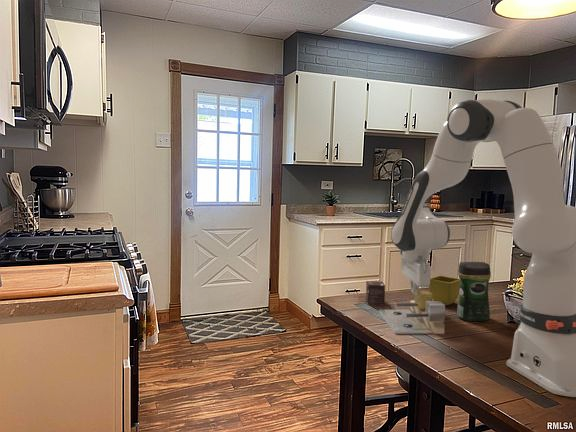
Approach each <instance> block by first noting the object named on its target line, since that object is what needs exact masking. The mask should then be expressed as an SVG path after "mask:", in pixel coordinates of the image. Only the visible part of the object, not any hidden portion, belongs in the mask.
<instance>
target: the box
mask: <svg viewBox="0 0 576 432" xmlns="http://www.w3.org/2000/svg"><path fill="white" fill-rule="evenodd" d="M365 283H366V285H365V286H366V287H365V289H366V291H365V301H366V303H367V305H369V306H370V305H371V306H372V305H373V306H374V305H377V306H380V305H382V306H384V305H385V302H386V301H385V300H386V299H385V297H386V296H385V295H386V285H385V283H384V282H383V281H382V280H379V281H377V280H375V281H374V280H370V281H369V280H366V282H365Z"/></svg>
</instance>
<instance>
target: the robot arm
mask: <svg viewBox="0 0 576 432" xmlns="http://www.w3.org/2000/svg"><path fill="white" fill-rule="evenodd" d="M481 142H482V143H490V142H496V143H497V144H498V146H499V149H500V151H501V156H502V159H503V162H504V165H505V168H506V172H507V175H508V179H509V182H510V184H511V185H510V186H511V190H512V195H513V206H514V208H513V209H514V211H513V212H514V221H513V222H512V226H511V236H512V239H513V242H514V243H515V244H516V246H517V247H518V248H520V250H523V251H524V252H526V253H528V254H532V255H531V257H530V261H529V264H528V266H527V268H526V270H525V272H524V274H523V275H524V276H523V289H522V290H523V293H522V295H523V296H522V304H521V305H520V310H519V320H520V321H521V322H520V323H519V326H518V327H517V329H516V330H515V332H514V335H513V342H512V349H511V356H510V358H508V359H507V360H506V363H505V364H506V366H507V367H508V368H510V369H512V370H513V371H515V372H516V373H518V374H520V375H521V376H523V377H525V378H527V380H530V381H531V382H532V383H535V384H537V385H538V386H539V387H541V388H543V389H544V390H546V391H547V392H550V393H551V394H554V395H559V396H563V397H564V396H565V397H570V398H576V207H575V206H572V205H569V204H565V203H566V202H565V198H564V189H563V188H564V187H563V185H564V184H563V183H564V171H563V168H562V166H561V163H560V160H559V156H558V155H557V151H556V147H555V145H554V142H553V140H552V137H551V135H550V132H549V130H548V128H547V126H546V124H545V122H544V120H543V119H542V117H541V116H540V114H539V113H538V111H536V110H535V109H533V108H531V107H523V106H521V105H520V104H518V103H516V102H515V101H514V102H513V101H510V100H500V99H499V100H497V99H492V98H486V99H485V98H483V99H476V100H474V99H467V100H463V101H461V102H458V103H456V104H454V106H453V107H452V108H451V109H450V110H449V112H448V115H447V119H446V121H445V122H444V123H443V125H442V126H441V128H440V130H439V133H438V135H437V137H436V140H435V143H434V146H433V150H432V154H431V157H430V158H429V161H428V163H427V164H426V166H425V167H424V168H423V169H422V171H420V172H418V173H417V175H416V176H415V177H414V179H413V181H412V184H411V186H410V188H409V191H408V193H407V196H406V198H405V201H404V203H403V206H402V209H401V210H400V213H399V216H398V218H397V219H396V221H395V222H394V224H393V226H392V228H391V233H390V239H391V242H392V243H393V245H394V246H395V248H397V249H398V250H399V254H400V255H401V257H400V263H401V273H402V274H403V275H404V276H405V277H406V278H407V279H409V285H410V292H411V293H412V295H415V291H420V288H429V285H430V278H431V269H430V268H431V267H430V264H429V263H428V262H427V261H430V249H435V250H436V249H441V248H444V247H445V246H446V247H447V244H448V243H449V241H450V237H451V228H450V227H449V225H448V223H447V222H446V221H445V220H443V219H440V218H438V217H436V216H435V215H434V214H433V213H432V211H431V209H430V208H429V207H427V206H424V205H425V203H426V200H428V199H429V198H430V197H431V196H432V195H434V194H435V193H438V192H440V191H442V190H445V189H447V188H451V187H454V186H456V185H457V184H459V183H461V182H462V181H463V180H464V179H465V178H466V176H467V175H468V173H469V171H470V170H469V169H470V167H471V163H472V160H473V156H474V152H475V149H476V147H477V145H478V144H479V143H481Z"/></svg>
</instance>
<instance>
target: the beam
mask: <svg viewBox="0 0 576 432" xmlns="http://www.w3.org/2000/svg"><path fill="white" fill-rule="evenodd" d="M409 303H415V299H414V300H410V302H409ZM409 310H410V311H411V312H412V314H406V316H407V317H417V318H418V319H419V320H420V321H421V323H422V324H423V325H424V326H425V327H426V328H427V329H428V330H429V331H430V332H431V333H433V334H434V335H437V334H438V335H442V334H443V335H445V324H446V323H444V322H445V317H446V316H445V315H446V314H445V313H446V305H444V304H443V303H442V302H440V301H434V300H432V301H426V309H417V308H416V307H415V306H409Z"/></svg>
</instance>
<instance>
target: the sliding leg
mask: <svg viewBox="0 0 576 432" xmlns="http://www.w3.org/2000/svg"><path fill="white" fill-rule="evenodd" d="M414 300H415V303H410V302H397V303H396V306H397V307H410V306H415V307H416V308H417V309H426V301H433V299H432V294H431V293H430V291H429V290H419V291H415V294H414Z"/></svg>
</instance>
